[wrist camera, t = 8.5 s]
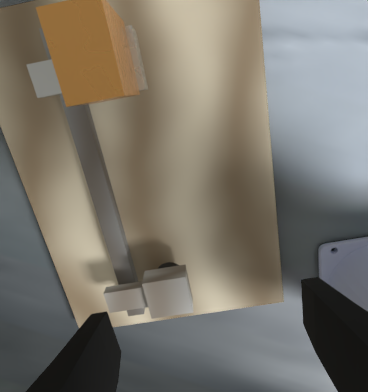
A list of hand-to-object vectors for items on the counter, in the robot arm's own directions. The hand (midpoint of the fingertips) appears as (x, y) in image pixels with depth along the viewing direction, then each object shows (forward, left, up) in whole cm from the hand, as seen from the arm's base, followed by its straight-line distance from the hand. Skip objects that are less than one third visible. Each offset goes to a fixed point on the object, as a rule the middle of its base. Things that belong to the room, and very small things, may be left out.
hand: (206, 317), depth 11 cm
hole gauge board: (+3, -3, -10) cm, 11 cm away
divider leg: (+4, -10, -9) cm, 14 cm away
